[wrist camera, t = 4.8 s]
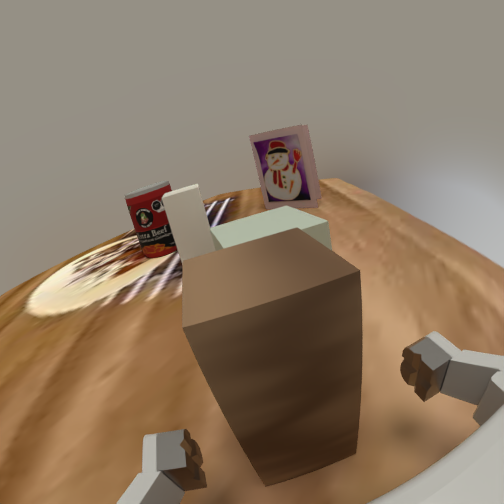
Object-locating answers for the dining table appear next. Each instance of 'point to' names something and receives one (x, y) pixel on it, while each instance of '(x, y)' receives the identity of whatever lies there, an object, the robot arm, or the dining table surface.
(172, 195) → the offwhite post
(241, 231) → the sage block
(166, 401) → the dining table surface
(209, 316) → the walnut post
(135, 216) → the canned food
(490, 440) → the robot arm
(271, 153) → the greeting card
